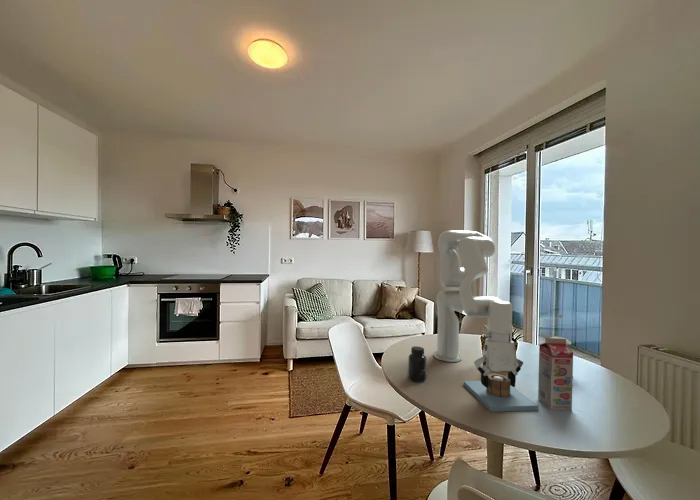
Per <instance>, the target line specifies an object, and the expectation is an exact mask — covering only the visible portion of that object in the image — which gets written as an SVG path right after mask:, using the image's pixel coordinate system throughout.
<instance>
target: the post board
mask: <svg viewBox="0 0 700 500" xmlns="http://www.w3.org/2000/svg"><path fill="white" fill-rule="evenodd" d="M494 379H495V380H498V381H503V378H502V377H499V376H494ZM463 386H464V387H465V388H466V389H467V390H468V391H469V392H470V394H472V395H473V396H474V397H475V398H476V399H477V400H478V401H479V402H480V403H481V404H482V405H483V406H484V407H486V409H488V410H489V412H513V411H514V412H520V411H522V412H523V411H539V404H537V403H536V402H534V401H533V400H532V399H530V398H529V397H528V396H526V395H525V394H524V393H522V392H521V391H519V390H518V389H516V387H512V386H511V385H510V395H509V397H497V396H494V395H492V394H490V393H489V392H487V390H486V387H485V386H484V385H482V383H481V380H463Z"/></svg>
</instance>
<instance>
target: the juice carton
mask: <svg viewBox="0 0 700 500" xmlns="http://www.w3.org/2000/svg"><path fill="white" fill-rule="evenodd" d="M566 339H567V338H565V339H558V338H556V339H555V338H551V337H545V340H544V341H545V343H544V342H543V343H540V344H539V347H538V350H539V351H538V386H537V387H538V389H537V390H538V391H537V400H539V402H540V403H542V404H543V405H544V406H545V407H547V408H548V409H549V410H550V411H551V410H552V411H573V410H572V409H573V379H574V376H573V373H574V351H573V350H572V349H571V348H570V347H569V345H566Z"/></svg>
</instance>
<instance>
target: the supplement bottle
mask: <svg viewBox="0 0 700 500" xmlns="http://www.w3.org/2000/svg"><path fill="white" fill-rule="evenodd" d="M407 364H408V365H407V366H408V367H407V369H408V370H407V378H408V380H410V381H411V382H414V383H424V382H425V381H426V379H427V356H426V355H425V348H423V347H422V346H417V345H415V346H412V347H411V350H410V354H409V355H408V362H407Z"/></svg>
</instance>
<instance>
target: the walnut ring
mask: <svg viewBox="0 0 700 500" xmlns="http://www.w3.org/2000/svg"><path fill="white" fill-rule="evenodd" d="M487 376H488V377H489V380H488V388H486V390H487V392H489V393H490V394H492V395H494V396H497V397H509V395H510V382H511V380H510V379H509V378H508V376H505V375H503V374H499V373H488V374H487ZM494 376H499V377H502V378H503V381H498V380H495V379H494Z"/></svg>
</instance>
